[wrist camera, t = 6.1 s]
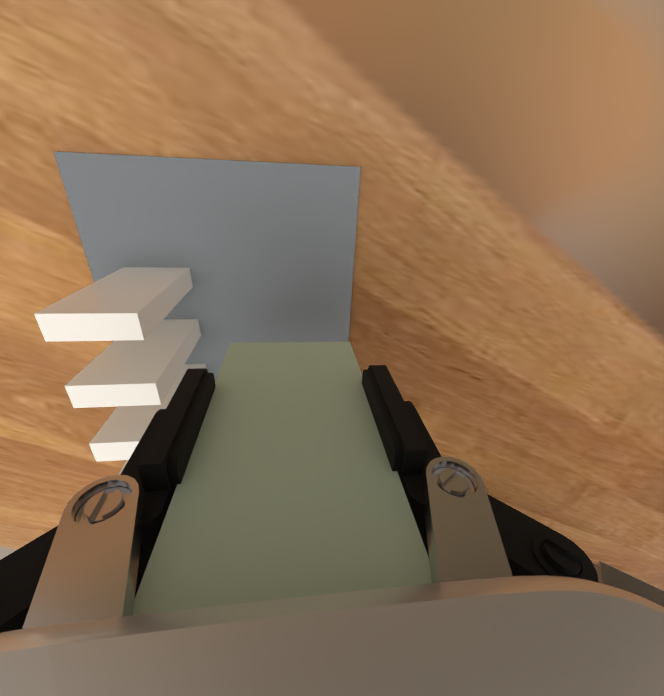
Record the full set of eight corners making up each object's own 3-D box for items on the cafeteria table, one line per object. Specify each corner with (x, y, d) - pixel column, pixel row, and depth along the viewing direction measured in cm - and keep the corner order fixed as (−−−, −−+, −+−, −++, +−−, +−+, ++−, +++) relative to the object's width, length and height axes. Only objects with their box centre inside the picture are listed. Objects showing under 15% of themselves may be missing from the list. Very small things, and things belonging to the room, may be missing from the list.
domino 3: (208, 377, 31) (174, 457, 22) (153, 379, 30) (96, 461, 21) (205, 363, 30) (170, 439, 21) (149, 364, 29) (89, 443, 21)
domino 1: (192, 287, 27) (144, 340, 18) (128, 286, 26) (45, 341, 17) (189, 267, 26) (137, 313, 17) (123, 267, 25) (34, 313, 16)
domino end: (347, 373, 14) (435, 674, 6) (233, 375, 14) (134, 718, 5) (349, 341, 14) (455, 631, 5) (230, 342, 13) (105, 676, 4)
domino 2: (200, 335, 29) (161, 404, 20) (141, 336, 28) (73, 407, 19) (198, 319, 28) (155, 383, 19) (137, 319, 27) (64, 385, 19)
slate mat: (341, 429, 36) (342, 431, 36) (145, 438, 34) (144, 441, 33) (359, 167, 24) (360, 166, 24) (57, 151, 22) (53, 151, 21)
